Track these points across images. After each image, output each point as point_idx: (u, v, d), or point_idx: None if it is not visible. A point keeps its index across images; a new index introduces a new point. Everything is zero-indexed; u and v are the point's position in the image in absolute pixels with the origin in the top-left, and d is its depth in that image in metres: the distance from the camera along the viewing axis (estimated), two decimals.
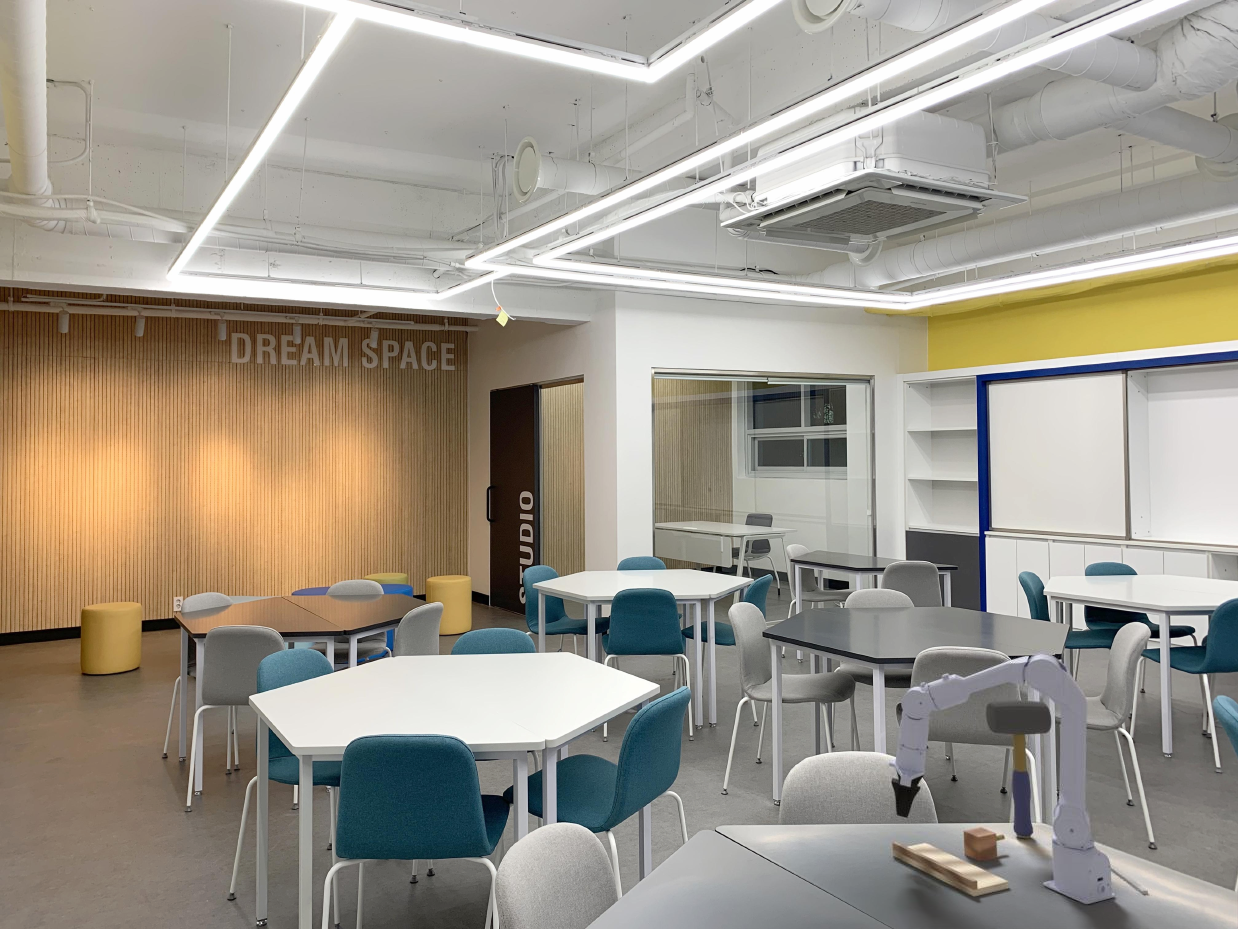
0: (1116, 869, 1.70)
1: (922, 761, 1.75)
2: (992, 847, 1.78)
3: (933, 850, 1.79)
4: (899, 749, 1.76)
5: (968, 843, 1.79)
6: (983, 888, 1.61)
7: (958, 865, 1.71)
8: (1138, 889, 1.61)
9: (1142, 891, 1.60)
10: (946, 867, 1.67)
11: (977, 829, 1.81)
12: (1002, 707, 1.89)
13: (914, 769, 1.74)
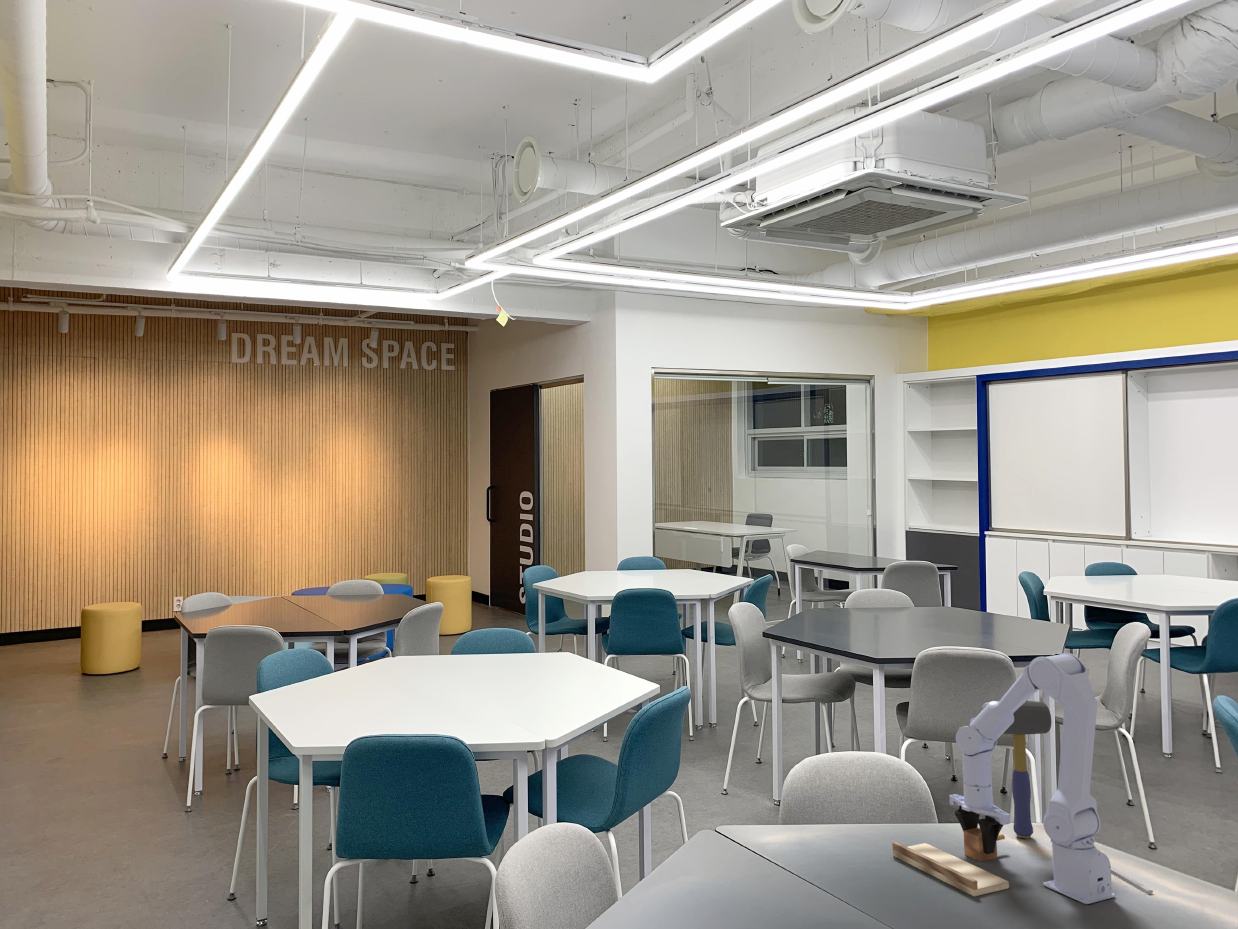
0: (1113, 869, 1.70)
1: None
2: None
3: (933, 850, 1.79)
4: (976, 791, 1.77)
5: (968, 843, 1.79)
6: (983, 888, 1.61)
7: (958, 865, 1.71)
8: (1142, 889, 1.61)
9: (1147, 890, 1.60)
10: (946, 867, 1.67)
11: (977, 829, 1.81)
12: None
13: (992, 805, 1.78)
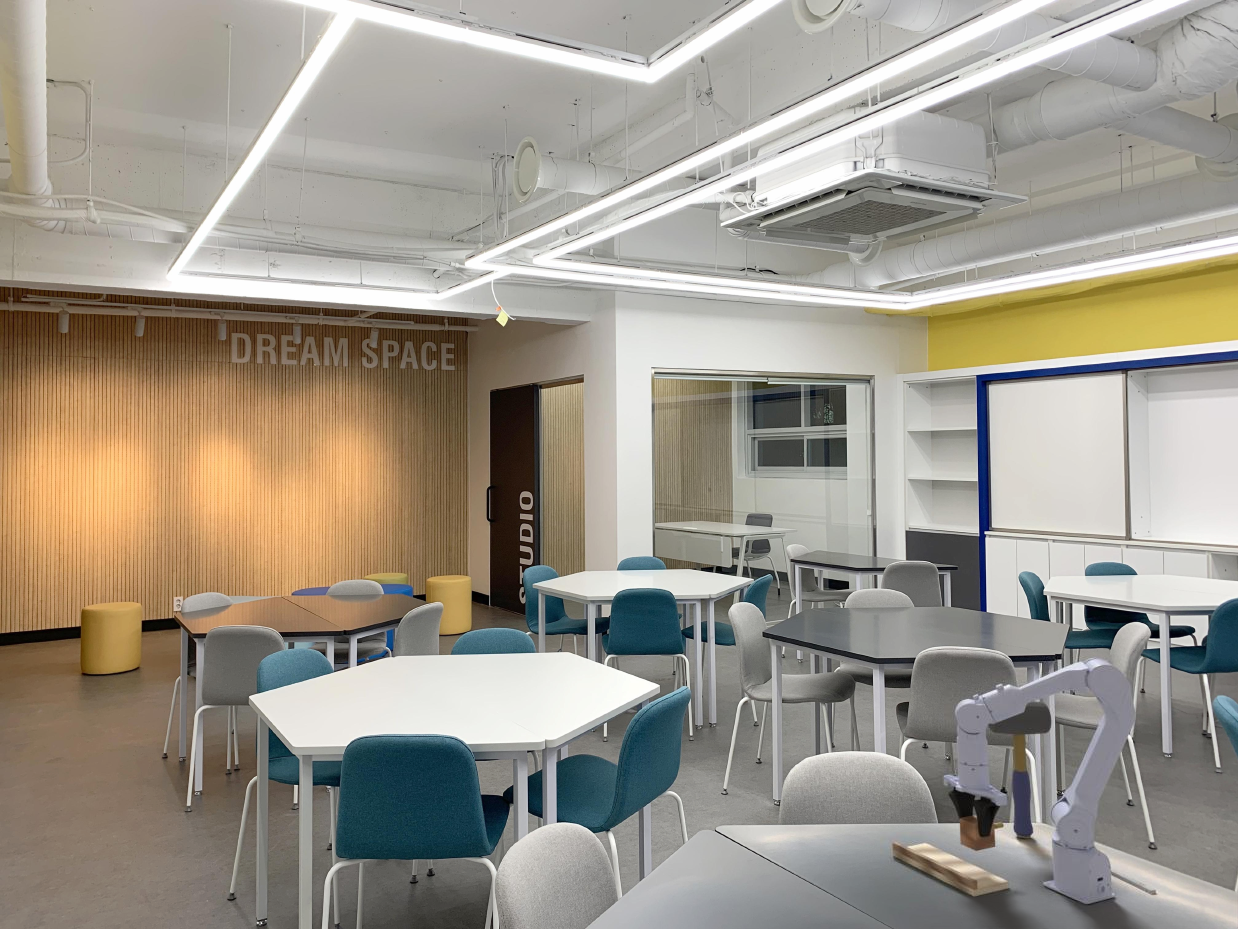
0: None
1: None
2: (990, 835, 1.67)
3: (933, 850, 1.79)
4: (970, 770, 1.67)
5: (964, 831, 1.68)
6: (983, 888, 1.61)
7: (958, 865, 1.71)
8: (1145, 889, 1.61)
9: (1151, 890, 1.60)
10: (946, 867, 1.67)
11: (974, 816, 1.70)
12: None
13: (988, 785, 1.67)
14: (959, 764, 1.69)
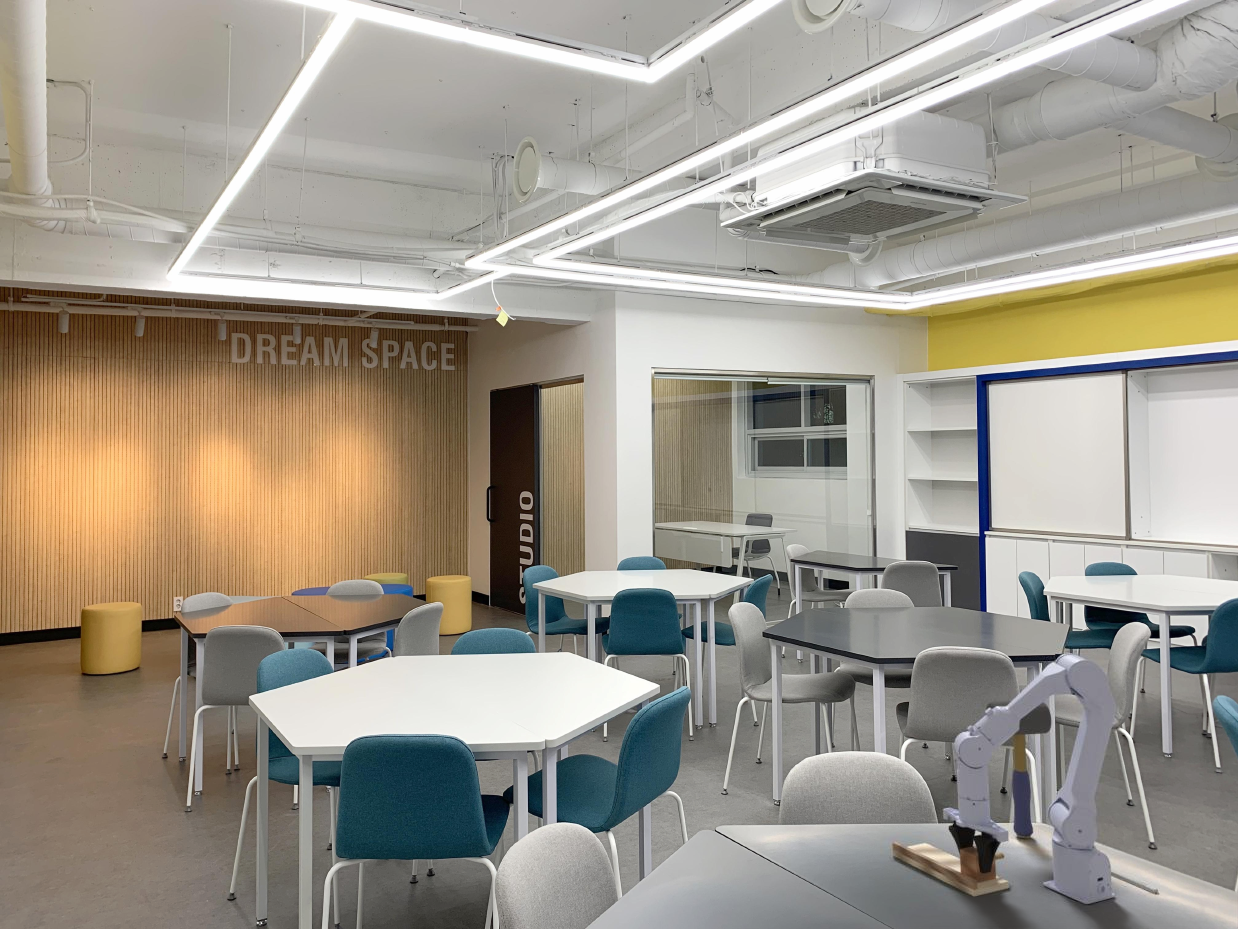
0: None
1: None
2: None
3: (933, 850, 1.79)
4: (971, 805, 1.64)
5: (965, 862, 1.65)
6: (983, 888, 1.61)
7: (958, 865, 1.71)
8: (1148, 888, 1.61)
9: (1154, 890, 1.60)
10: (946, 867, 1.67)
11: (974, 847, 1.67)
12: None
13: (989, 820, 1.64)
14: (959, 798, 1.66)
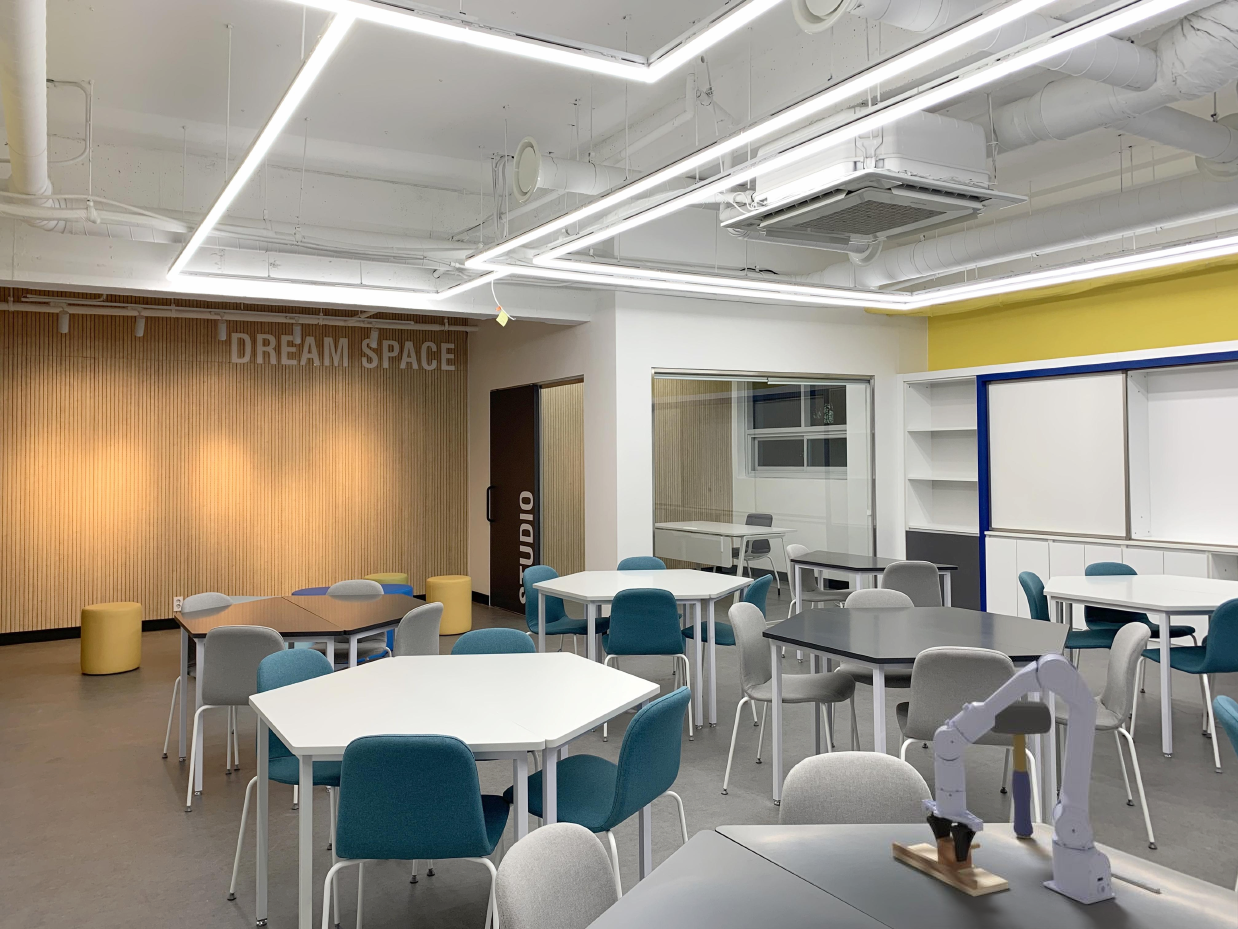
0: None
1: None
2: None
3: (933, 850, 1.79)
4: (948, 796, 1.69)
5: (941, 852, 1.71)
6: (983, 888, 1.61)
7: None
8: (1150, 888, 1.61)
9: (1156, 889, 1.60)
10: (946, 867, 1.67)
11: (951, 837, 1.73)
12: None
13: (965, 811, 1.70)
14: (937, 790, 1.72)
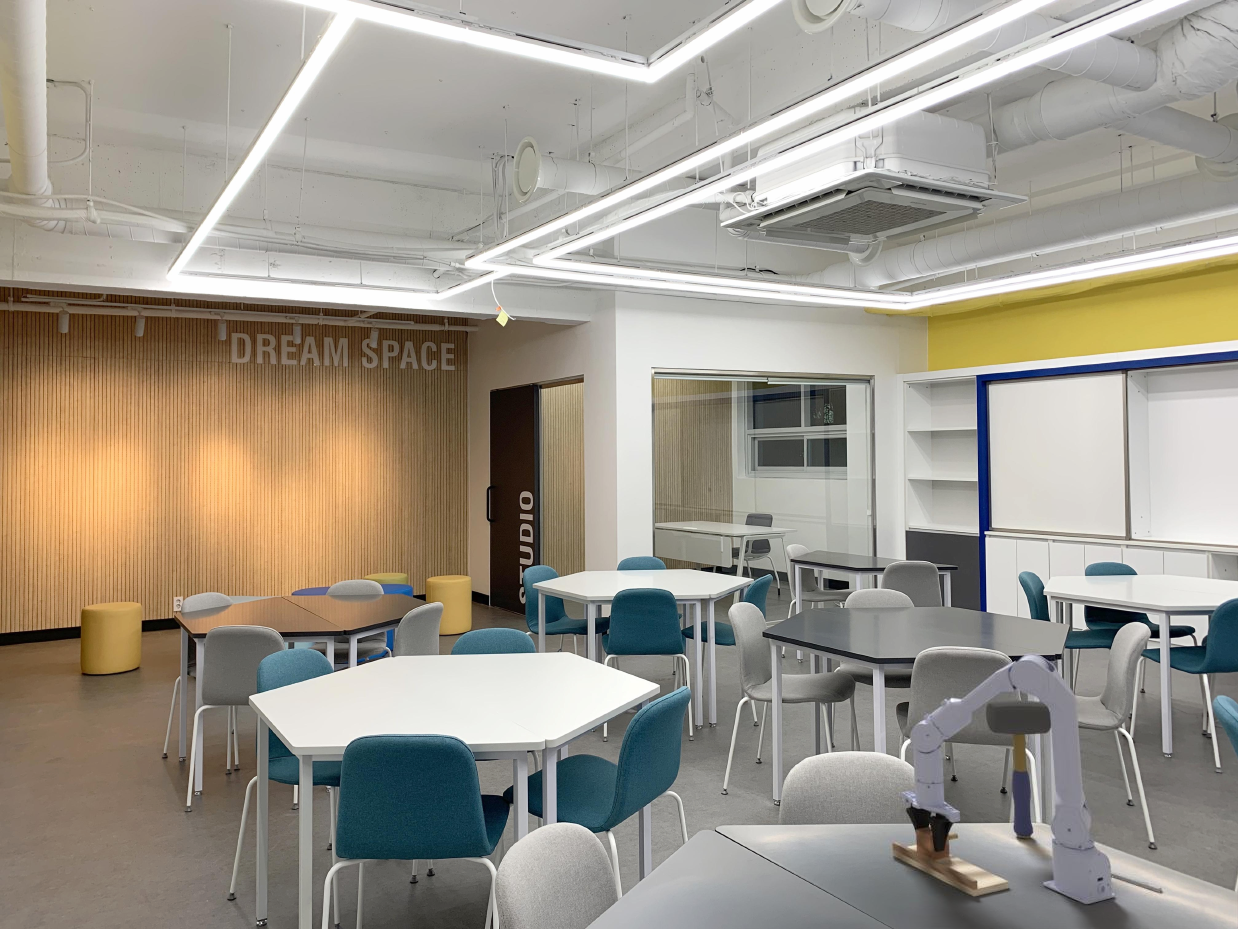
0: None
1: None
2: None
3: None
4: (926, 788, 1.75)
5: (920, 842, 1.76)
6: (983, 888, 1.61)
7: (958, 865, 1.71)
8: (1152, 888, 1.61)
9: (1158, 889, 1.61)
10: (946, 867, 1.67)
11: (930, 828, 1.78)
12: (1002, 707, 1.89)
13: (943, 802, 1.75)
14: (916, 782, 1.77)
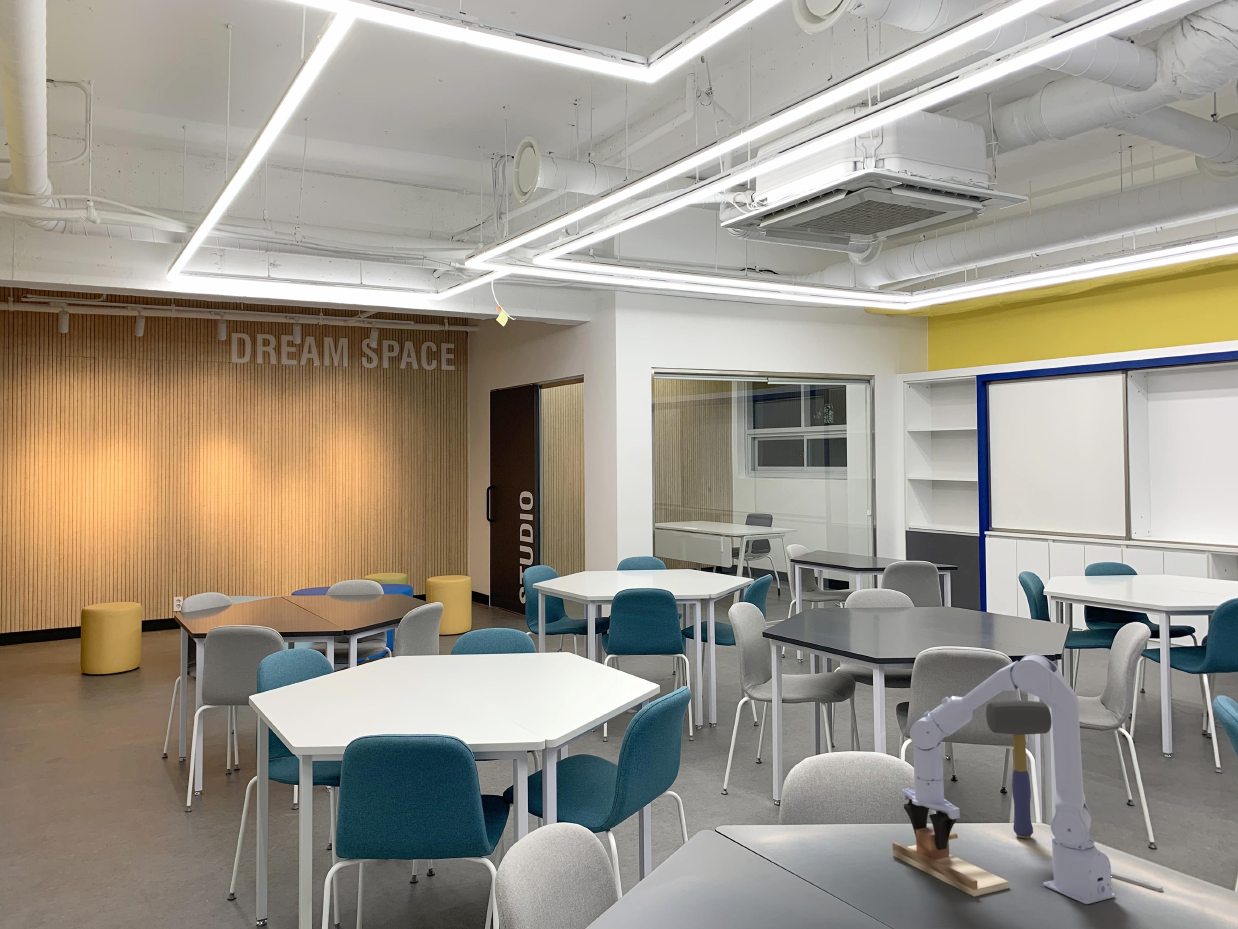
0: None
1: None
2: None
3: None
4: (926, 785, 1.75)
5: (920, 842, 1.76)
6: (983, 888, 1.61)
7: (958, 865, 1.71)
8: (1153, 887, 1.62)
9: (1160, 888, 1.61)
10: (946, 867, 1.67)
11: (930, 828, 1.78)
12: (1002, 707, 1.89)
13: (943, 799, 1.75)
14: (915, 779, 1.77)
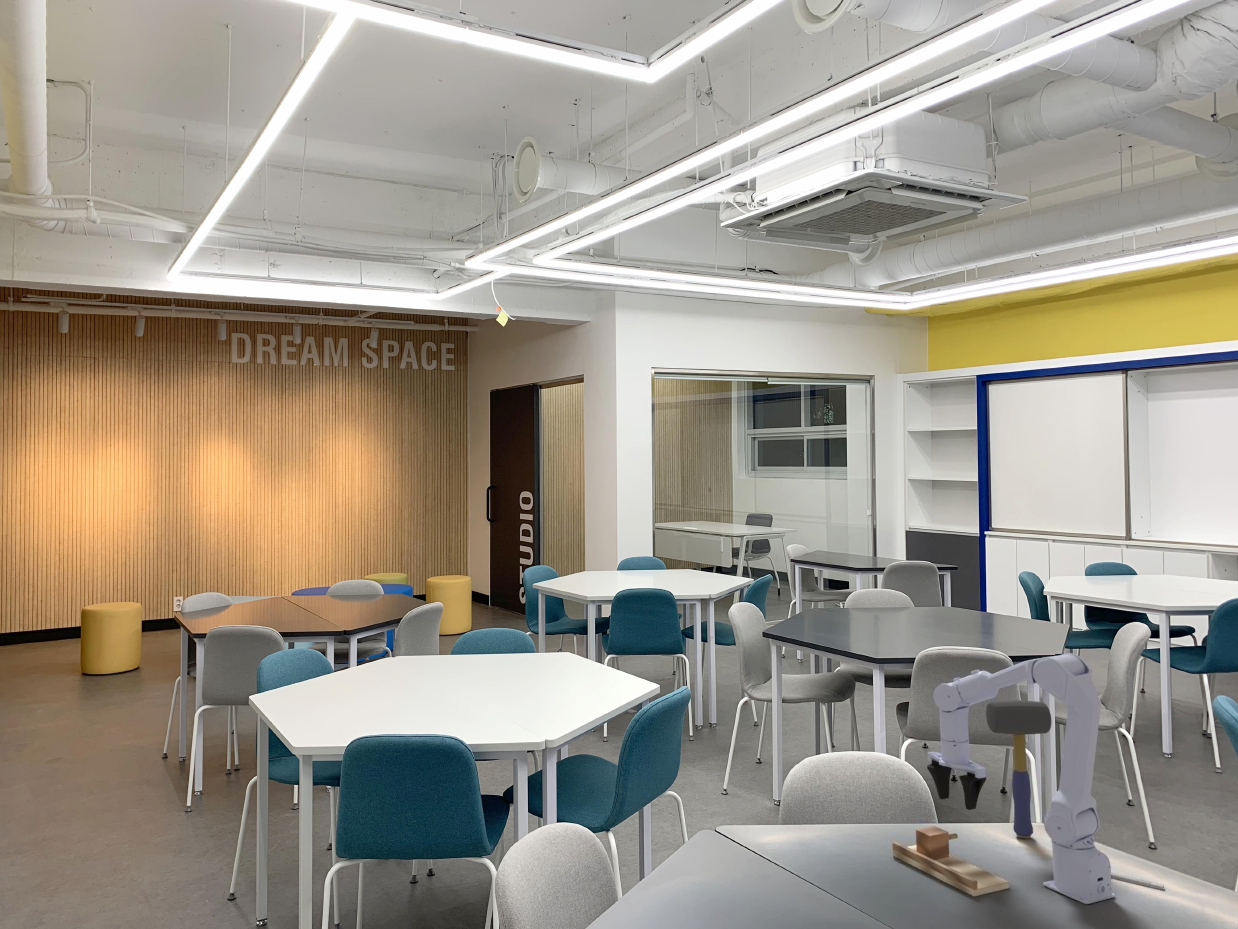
0: None
1: None
2: (944, 846, 1.75)
3: None
4: (952, 746, 1.81)
5: (920, 842, 1.76)
6: (983, 888, 1.61)
7: (958, 865, 1.71)
8: (1155, 886, 1.62)
9: (1162, 887, 1.62)
10: (946, 867, 1.67)
11: (930, 828, 1.78)
12: (1002, 707, 1.89)
13: (968, 760, 1.81)
14: (942, 741, 1.83)
